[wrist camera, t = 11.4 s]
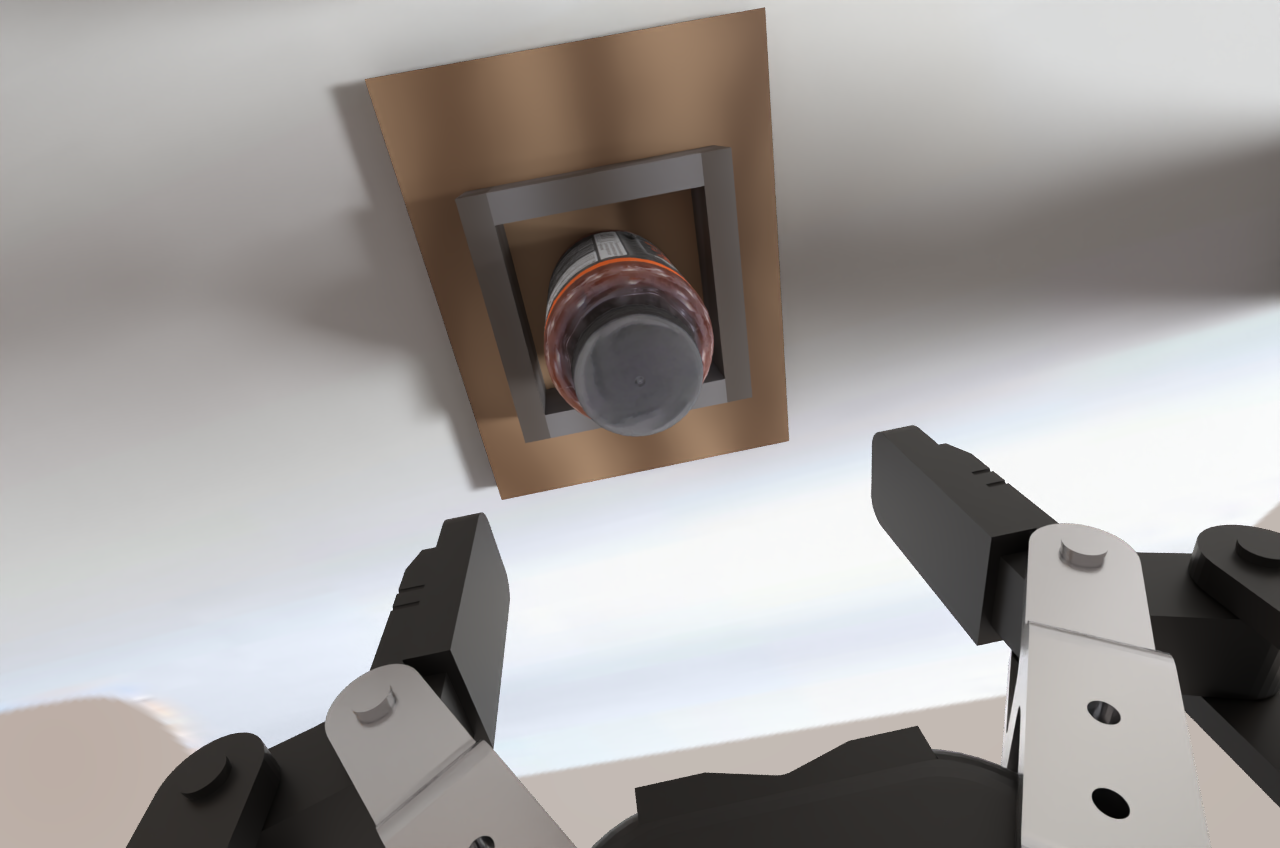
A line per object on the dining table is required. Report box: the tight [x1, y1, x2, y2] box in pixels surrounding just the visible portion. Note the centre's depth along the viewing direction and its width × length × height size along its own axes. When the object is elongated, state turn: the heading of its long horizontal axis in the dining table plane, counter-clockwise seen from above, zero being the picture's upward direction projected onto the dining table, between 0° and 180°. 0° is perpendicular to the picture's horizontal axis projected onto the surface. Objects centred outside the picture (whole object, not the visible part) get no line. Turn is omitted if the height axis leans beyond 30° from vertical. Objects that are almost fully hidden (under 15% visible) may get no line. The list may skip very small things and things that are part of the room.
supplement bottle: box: [544, 230, 714, 437], centre depth 23 cm, size 6×6×11 cm
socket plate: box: [365, 8, 789, 500], centre depth 27 cm, size 16×20×4 cm
